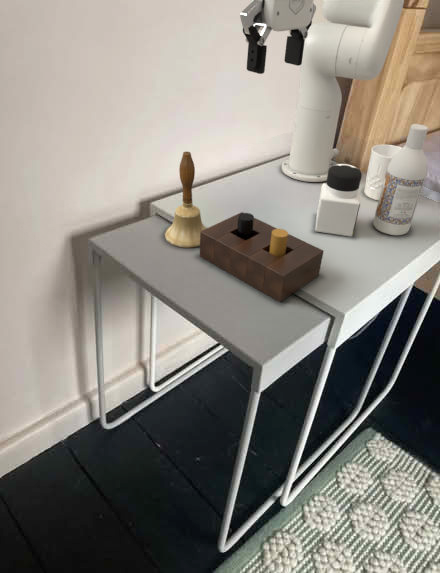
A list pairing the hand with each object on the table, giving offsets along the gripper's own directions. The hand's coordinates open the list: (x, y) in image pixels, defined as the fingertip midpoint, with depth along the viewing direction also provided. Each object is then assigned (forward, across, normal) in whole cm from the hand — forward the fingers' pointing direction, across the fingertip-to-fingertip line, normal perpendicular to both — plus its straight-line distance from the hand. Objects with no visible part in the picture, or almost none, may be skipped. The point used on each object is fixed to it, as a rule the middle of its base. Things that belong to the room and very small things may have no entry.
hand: (274, 67), depth 80 cm
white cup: (+28, +30, -10) cm, 43 cm away
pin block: (+28, -12, -10) cm, 32 cm away
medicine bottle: (+28, +10, -11) cm, 32 cm away
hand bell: (+28, -14, +5) cm, 32 cm away
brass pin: (+28, -12, -14) cm, 34 cm away
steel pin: (+28, -12, -6) cm, 31 cm away
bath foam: (+28, +18, -19) cm, 39 cm away
